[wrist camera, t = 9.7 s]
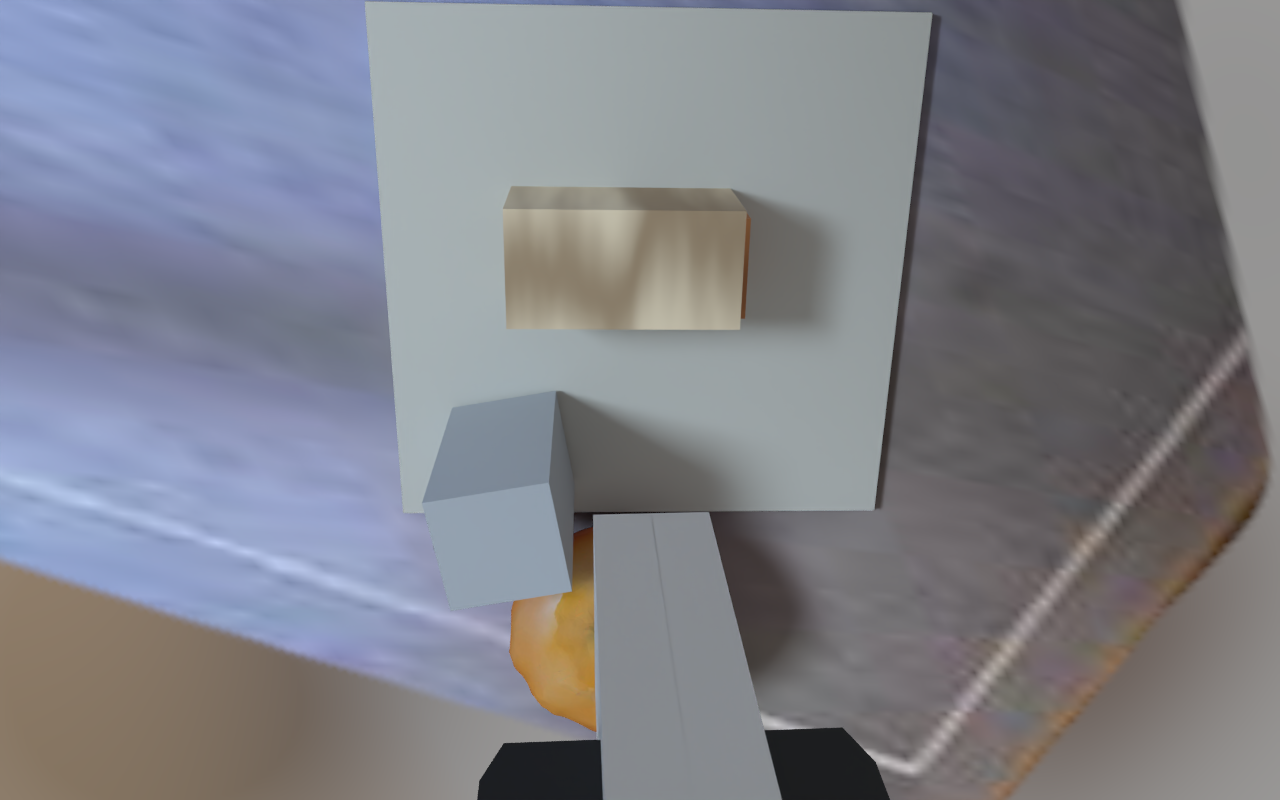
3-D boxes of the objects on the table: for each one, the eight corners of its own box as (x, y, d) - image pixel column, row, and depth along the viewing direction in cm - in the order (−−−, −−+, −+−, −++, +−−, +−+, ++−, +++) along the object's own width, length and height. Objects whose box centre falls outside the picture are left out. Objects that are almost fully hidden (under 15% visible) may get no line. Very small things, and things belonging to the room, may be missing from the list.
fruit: (596, 737, 44) (543, 786, 37) (524, 568, 46) (457, 581, 38) (766, 661, 43) (748, 695, 35) (686, 490, 45) (652, 487, 37)
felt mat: (367, 1, 34) (364, 1, 34) (929, 12, 35) (932, 12, 35) (404, 508, 41) (403, 513, 41) (871, 505, 42) (874, 510, 42)
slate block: (452, 405, 39) (421, 503, 32) (555, 388, 39) (548, 482, 32) (475, 497, 41) (450, 610, 33) (574, 481, 41) (572, 591, 33)
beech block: (736, 188, 37) (511, 186, 36) (752, 211, 33) (502, 209, 33) (730, 296, 38) (514, 295, 38) (745, 330, 35) (506, 329, 34)
